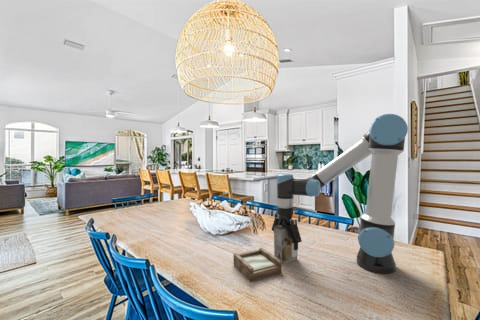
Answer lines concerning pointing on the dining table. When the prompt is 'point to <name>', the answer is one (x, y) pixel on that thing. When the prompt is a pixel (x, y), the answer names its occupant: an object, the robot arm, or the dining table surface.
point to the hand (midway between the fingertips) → (285, 251)
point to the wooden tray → (257, 264)
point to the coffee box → (283, 244)
